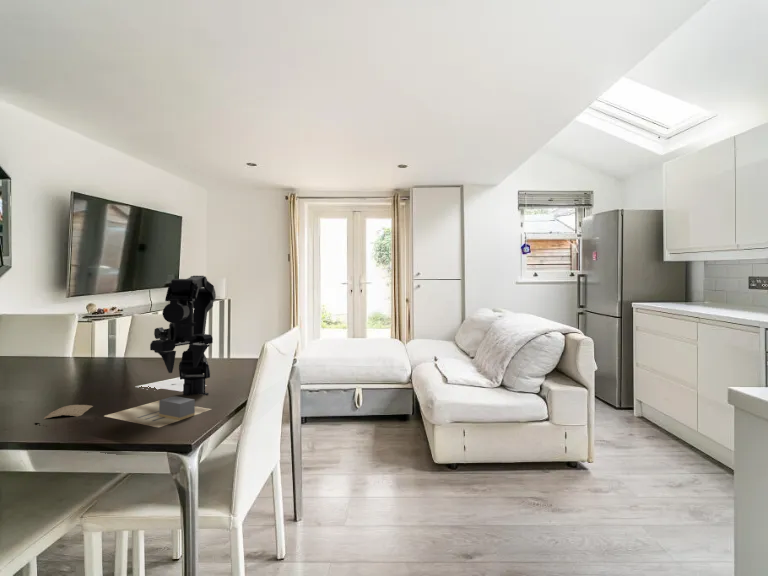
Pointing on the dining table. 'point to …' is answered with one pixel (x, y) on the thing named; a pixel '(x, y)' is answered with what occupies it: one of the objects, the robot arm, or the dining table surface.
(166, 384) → the paper sheet
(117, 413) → the plywood board
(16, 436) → the dining table surface
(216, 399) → the dining table surface
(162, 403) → the block
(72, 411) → the clay tablet
